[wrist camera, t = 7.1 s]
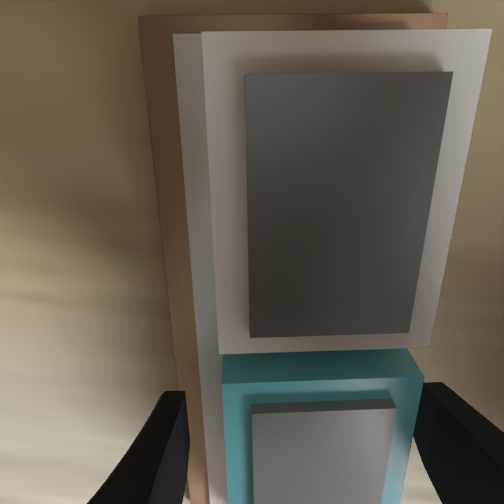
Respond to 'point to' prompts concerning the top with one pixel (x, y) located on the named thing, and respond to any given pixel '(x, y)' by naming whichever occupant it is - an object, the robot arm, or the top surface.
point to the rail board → (302, 188)
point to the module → (319, 425)
